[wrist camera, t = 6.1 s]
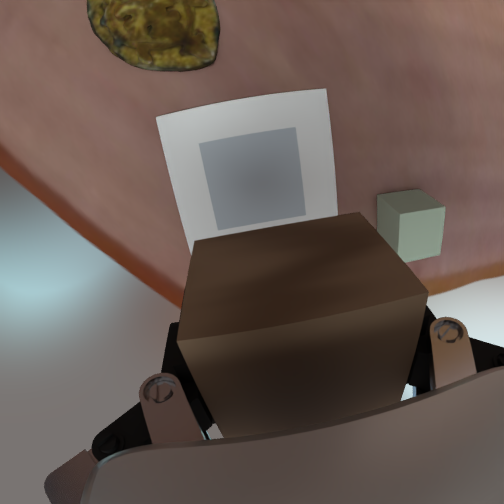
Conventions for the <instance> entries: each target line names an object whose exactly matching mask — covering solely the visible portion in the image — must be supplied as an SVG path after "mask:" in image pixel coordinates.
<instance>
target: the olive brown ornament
mask: <svg viewBox="0 0 504 504" xmlns="http://www.w3.org/2000/svg"><path fill="white" fill-rule="evenodd" d="M87 14H88V18H89V20H90V24H91V27H92V30H93V32H94V34H95V35H96V36H97V37H98V38H99V39H100V40H101V41H102V43H104V44H105V45H106V46H107V47H108V49H109V50H110V51H111V53H112V54H114V55H115V56H117V57H119V58H120V59H122V60H123V61H125V62H126V63H128V64H130V65H133V66H135V67H138V68H142V69H147V70H157V71H180V72H181V71H190V70H197V69H201V68H204V67H206V66H208V65H211V64H212V63H213V62H214V61H215V59H216V54H217V48H218V40H219V34H220V23H219V16H218V12H217V7H216V4H215V2H214V0H87Z"/></svg>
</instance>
